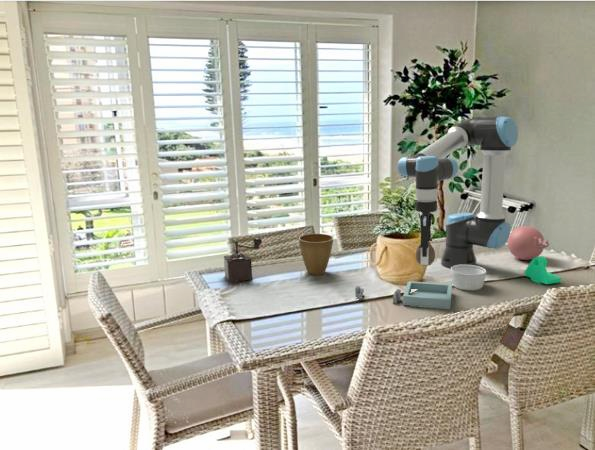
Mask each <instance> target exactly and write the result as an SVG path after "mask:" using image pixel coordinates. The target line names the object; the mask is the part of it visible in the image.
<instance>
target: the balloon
mask: <svg viewBox="0 0 595 450" xmlns="http://www.w3.org/2000/svg"><path fill="white" fill-rule="evenodd" d="M549 246H550V243H549V240H548V239H545V238H544V235H543V234H542V233H541V231H540V230H539V229H537V228H535V227H533V226H529V225H528V226H527V225H523V226H519V227H516V228H515V229H513V230H512V231H510V234H509V238H508V240H507V248H508V250H509V252H510V253H511V255H512V256H514V257H515V258H516V259H519V260H522V261H532V260H533V258H535V257H540V255H542V253H543V252H544V250H545V249H546V248H548V247H549Z"/></svg>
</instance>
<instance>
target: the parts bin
mask: <svg viewBox="0 0 595 450" xmlns="http://www.w3.org/2000/svg"><path fill="white" fill-rule="evenodd" d="M411 289H418V291H416V292H412V293H410V292H411ZM452 294H453V283H452V284H451V283H440V282H439V283H438V282H425V281H424V282H422V281H410V280H409V281H407V284H406V286H405V289H404V292H403V295H402V306H404V305H412V306H411V307H416V306H422V307H421V308H427V307H431V308H430V309H441V310H451V303H452Z"/></svg>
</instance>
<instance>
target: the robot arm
mask: <svg viewBox="0 0 595 450" xmlns="http://www.w3.org/2000/svg"><path fill="white" fill-rule="evenodd" d="M518 131H519V130H518V125H517V124H516V121H515V119H514V118H511V117H509V116H502V115H501V116H474V117H471V118H467V119H466V120H463V121H461V122H459V123H457V124H455V125H453V126H452V127H451V128H449V129H448V131H447V133H446V134H445V135H442V136H441V137H440V138H439V139H437V140H435V141H434V142H432V143H430V145H428V146H426V147H425V148H423V149H422V150H420V151H419V152H417V153H416V154H414V155H412V156H403V157H401V158H400V159H399V160H398V162H397V170H398V171H397V172H398V173H399V175H400V176H403V177H407V178H415V190H414V191H413V193H414V194H415V205H414V206H415V208H414V209H415V211H416V212H418V213H421V215H420V217H419V222H420V244H421V245H420V244H419V245H420V246H419V245H418V247H419V248H421V265H420V266H422V265H428V259H429V246H428V241H429V243H430V244H431V242H433V238H431V237H432V236H431V226H432V220H433V215H432V213H435V212H436V211H437V210H438V201H437V200H438V196H439V195H438V191H439V187H438V182H441V181H445V180H451V179H452V178H454V177H456V176H457V174H458V172H459V165H458V162H457V161H456V160H455V159H453V158H451V157H449V158H448V156H450V154H452V153H453V152H455V151H456V150H458V149H463V148H466V147H467V146H468V147H469V146H480V149H479V151H481V153H482V154H483V159H482V160H483V163H482V176H481V193H480V206H479V207H480V208H479V212H477V214H475V213H473V212H459V213H458V212H457V213H452V214H450V215H447V218H446V224H445V247H444V250H443V252H442V256H441V259H440V264H441V265H442V266H443V267H446V268H450V269H451V267H453V266H456V265H475V266H477V257H476V254H475V251H474V246H479V247H484V248H488V249H496V250H497V249H501V248H503V247H504V246H505V245H506V243H508V238H509V235H510V234H511V226H510V223H509V222H507V221H506V216H505V215H504V214H503V202H504V201H503V200H504V186H505V178H506V177H505V175H506V173H505V172H506V162H507V155H508V154H509V153H510V152H511V150H512V147H514V146H515V145H517V144H516V143H517V141H518V139H519V138H518V137H519V132H518ZM446 157H447V158H446Z"/></svg>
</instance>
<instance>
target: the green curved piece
mask: <svg viewBox="0 0 595 450" xmlns="http://www.w3.org/2000/svg"><path fill="white" fill-rule="evenodd" d="M547 266H548V260H547V258H546V257H545V256H543V255H542V256H538V257H535V258H533V259H531V260H530V263H529V264H528V266H527V267H526V268H525V270H524V276H526V277H528V278H530V281H532V282H534V283H537V284H540V285H541V284H545V285H549V284H550V285H551V284H557V283H561V282H562V277H560V276H558V275H555V274H553V273H551V272H548V271H547V268H546V267H547Z"/></svg>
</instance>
